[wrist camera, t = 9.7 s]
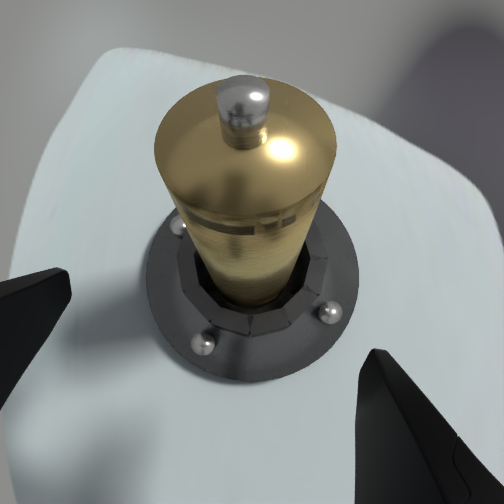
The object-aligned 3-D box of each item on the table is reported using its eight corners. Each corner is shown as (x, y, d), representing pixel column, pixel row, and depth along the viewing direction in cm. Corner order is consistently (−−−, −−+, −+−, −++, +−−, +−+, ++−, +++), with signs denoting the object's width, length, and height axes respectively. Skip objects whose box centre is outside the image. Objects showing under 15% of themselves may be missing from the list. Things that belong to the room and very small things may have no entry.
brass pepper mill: (304, 279, 20) (391, 115, 6) (242, 324, 19) (206, 226, 5) (259, 222, 21) (263, 23, 7) (199, 263, 20) (111, 89, 7)
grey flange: (378, 346, 19) (400, 342, 16) (171, 398, 18) (155, 405, 15) (318, 168, 24) (326, 140, 20) (141, 206, 23) (125, 183, 20)
